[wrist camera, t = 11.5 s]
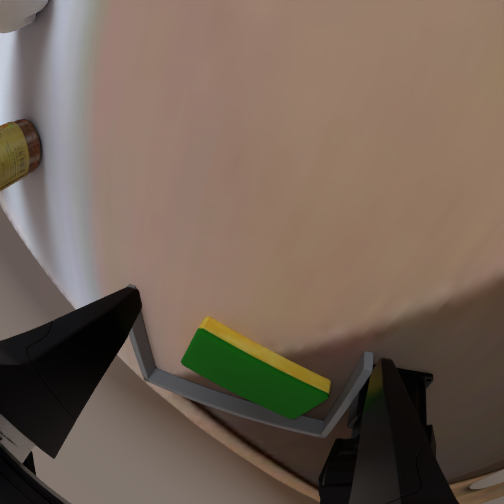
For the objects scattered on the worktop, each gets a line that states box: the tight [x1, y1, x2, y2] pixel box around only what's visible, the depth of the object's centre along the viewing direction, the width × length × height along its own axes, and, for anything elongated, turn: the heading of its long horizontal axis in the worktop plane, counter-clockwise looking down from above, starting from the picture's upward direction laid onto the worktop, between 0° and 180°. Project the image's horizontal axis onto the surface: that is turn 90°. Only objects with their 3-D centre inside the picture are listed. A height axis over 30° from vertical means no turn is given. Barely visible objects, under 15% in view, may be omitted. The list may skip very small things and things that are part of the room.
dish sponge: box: [181, 317, 331, 419], centre depth 29 cm, size 7×14×2 cm, turn 65°
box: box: [127, 284, 373, 438], centre depth 30 cm, size 24×15×2 cm, turn 85°
